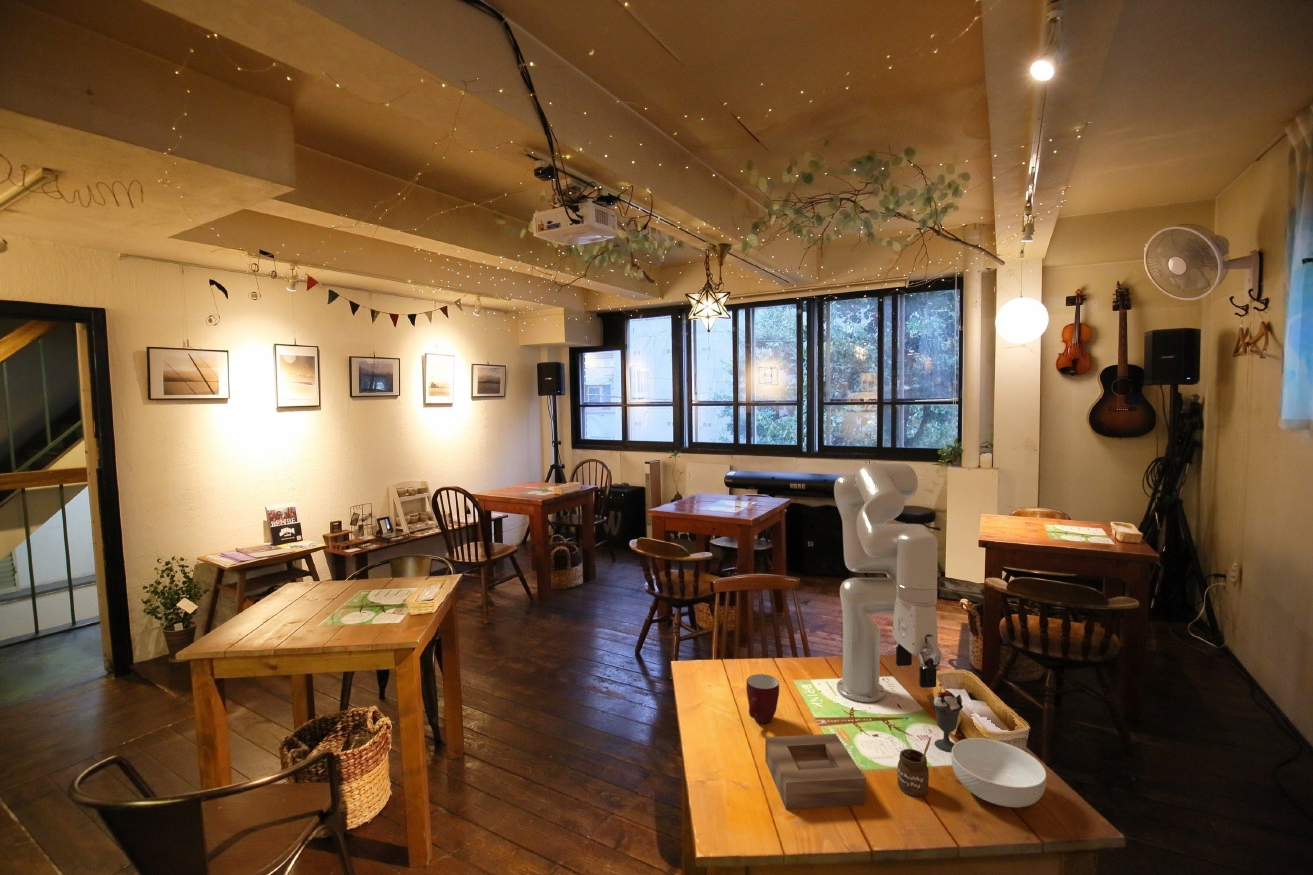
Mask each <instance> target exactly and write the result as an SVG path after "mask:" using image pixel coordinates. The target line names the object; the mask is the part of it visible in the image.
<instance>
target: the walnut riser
mask: <svg viewBox="0 0 1313 875" xmlns="http://www.w3.org/2000/svg"><path fill="white" fill-rule="evenodd" d="M764 753H765V755H764V758H765V764H766V765H767V768H768V771H769V772H770V775H771V777H772V780H773V782H774V785H775V787H776V789H777V792H778V794H779V797H780V799H781V801H782V804H783V807H784V809H785V810H797V809H817V808H819V809H820V808H830V807H831V808H832V807H835V808H836V807H848V806H852V807H853V806H865V805H866V777H865V776H864V774H863V773H862V771H861V769H860V768H859V767H858V765H857V764H856V762H855V761H854V759H853V757H852V756H851V754H850V753H849V751H848V750H847V748H846V746H845V745H844V744H843V743H842V741H841V740H840V738H839V737H838V735H837V734H836V733H823V734H822V733H821V734H802V735H800V734H798V735H783V736H782V735H780V736H766V737H765V752H764Z"/></svg>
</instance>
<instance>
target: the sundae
mask: <svg viewBox="0 0 1313 875" xmlns="http://www.w3.org/2000/svg"><path fill="white" fill-rule="evenodd" d="M938 686H939V687H940V690H939V691H938V693H937V696H935V697H932V698H931V700H930V702H931V705H932V707H934V710H935V711H934V712H935V719H936V725H937V726H938V727H939V729H940V730H941V731H942V732H943V737H942V739H941V738H938V739H936V740H935V741H934V746H935V747H936V748H937V749H939V750H940V751H943V752H948V753H951V752H952V748H953V746H954V745H955V744H956V743H955V742H953V741H952V740H950V733H952V732H954V731H955V730H956V729H957V725H958V720H959V715H960V711H961V710H963V708H964V706H963V704H962V703H963V699H962V697H961V694H958V695H955V694H954V693H952V692H951V691H950V690H947V689H946V688H945V687H944V686H943V685H942V683H941V684H938ZM942 688H943V690H944V691H942Z"/></svg>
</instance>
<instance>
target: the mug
mask: <svg viewBox="0 0 1313 875" xmlns="http://www.w3.org/2000/svg"><path fill="white" fill-rule="evenodd" d="M745 686H746V695H747V696H746V697H747V702H748V714H749V716H750V717H751V718H752V719H754V721H755V722H756V723H757V724H762V725H766V724H767V725H768V724H769V723H771V721H772V720H773V718H774V716H775V715H776V712H777V706H778V702H779V701H778V700H779V696H780V681H779V680H778V679H777V677H775V676H773V675H771V674H769V675H768V674H763V673H757V674H752V675H751V676H748V677H747V678H746V685H745Z"/></svg>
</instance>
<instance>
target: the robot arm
mask: <svg viewBox="0 0 1313 875" xmlns="http://www.w3.org/2000/svg"><path fill="white" fill-rule="evenodd" d="M918 485H919V480H918V476H917V472H916V471H915V469H914V468H913V467H912V466H910V465H909V464H906V463H869V464H864V465H863V466H861V467H860V468H859V469H858V470H857V471H856V473H851V474H844V475H840V476H839V477H837V478H836V480H834V486H833V494H834V500H835V504H836V507H837V509H838V512H839V515H840V518H841V521H842V522H841V524H842V543H843V545H842V546H843V560H844V565H845V567H846V568H847V569H848V570H849V571H851V572H854V573H861V574H862V573H867V574H871V573H872V574H873V573H874V574H875V573H876V574H879V573H880V574H882V573H883V574H886V577H852V578H847V579H845V580H844V581H842V582H841V585H840V587H839V597H840V604H841V609H842V678H841V679H840V680H838V681H837V683H836V689H837V692H838V693H839V694H840V695H841V696H843V697H845V698H846V699H849V700H852V701H856V702H861V703H875V702H879V701H881V700H883V699H884V698H885V697H886V689H885V688H884V686H883V685H882V684H881V683H880V655H881V654H880V653H881V652H880V650H881V649H880V647H881V646H880V644H881V643H880V642H881V632H880V628H879V626H878V625H877V623H876V622H875V621H874V619H873V618H872V617H871V615H872V616H873V615H893V620H892V621H893V622H892V637H893V639H894V642H895V643H894V644H895V648H896V649H895V664H896V665H897V667H908V666H909V667H910V666H912V664H913V663H912V662H913V656H917V655H918V659H919V661H920V666H918V667H919V670H918V671H919V672H918V673H919V677H918V678H919V679H918V685H919V687H920V688H923V689H927V688H936V687H937V669H939V665H940V663H941V658H942V652H941V650H940V648H939V646H938V645H939V644H938V642H939V641H938V640H939V638H938V637H939V634H938V617H937V616H938V615H937V608H936V604H937V603H938V601H937V600H938V549H939V548H938V547H939V545H938V539H937V537H936V536H935V535H934V534H933V533H931V531H930V530H929V528H928V527H926V526H925V525H923V524H920V523H919V524H918V523H888V522H890V521H893V520H894V519H896V518H897V517H899V516H900V515H901V514H902V513H903V511H904V508H905V502H906V501H908V500H910V499H911V498H913V497H914V496H915V494H916V492H917V490H918ZM925 656H926V657H927V656H928V657H929V658H927V660H926V657H925Z"/></svg>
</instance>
